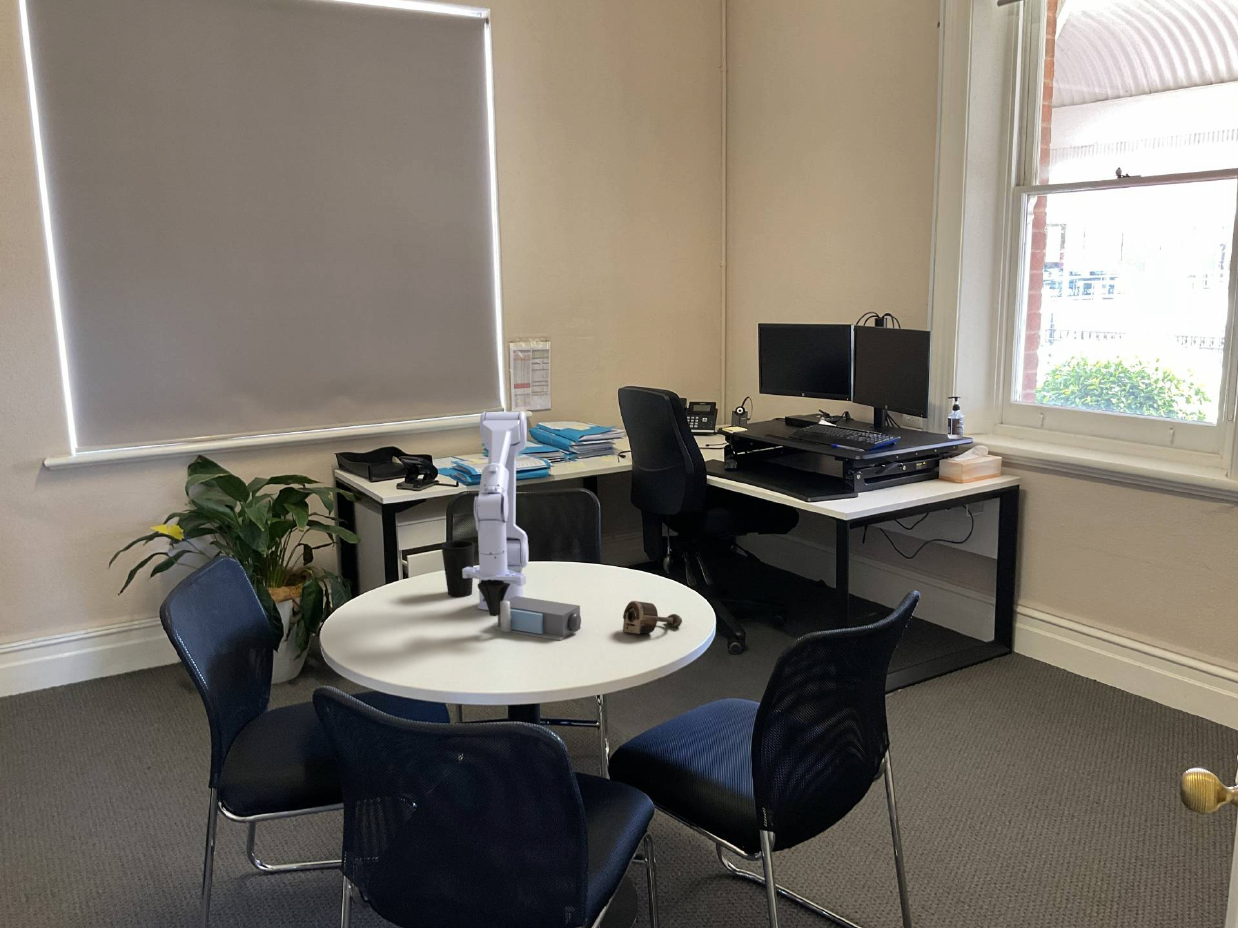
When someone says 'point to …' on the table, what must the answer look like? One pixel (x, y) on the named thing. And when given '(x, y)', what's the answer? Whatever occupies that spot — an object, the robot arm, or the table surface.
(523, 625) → the door
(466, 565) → the cup
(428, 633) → the table surface
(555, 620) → the housing
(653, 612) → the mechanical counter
